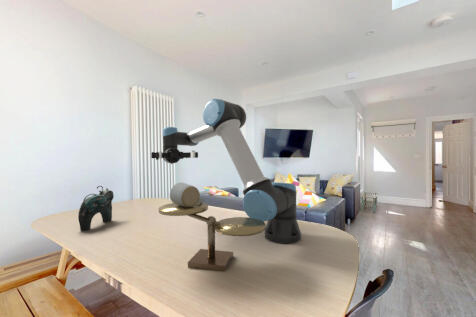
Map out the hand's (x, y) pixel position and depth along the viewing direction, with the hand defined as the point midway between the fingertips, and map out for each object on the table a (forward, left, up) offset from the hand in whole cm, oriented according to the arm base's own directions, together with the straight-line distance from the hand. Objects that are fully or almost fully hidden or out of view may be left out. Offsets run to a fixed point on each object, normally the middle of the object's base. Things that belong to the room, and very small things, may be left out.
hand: (177, 154), depth 91 cm
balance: (-20, +16, -35) cm, 43 cm away
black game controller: (+51, -10, -36) cm, 63 cm away
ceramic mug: (-11, +14, -18) cm, 25 cm away
